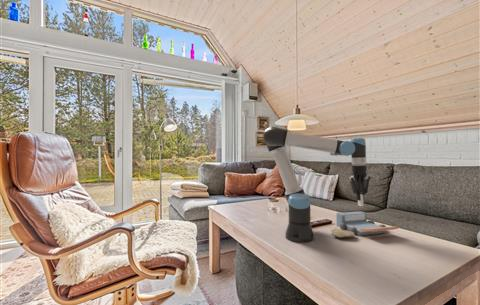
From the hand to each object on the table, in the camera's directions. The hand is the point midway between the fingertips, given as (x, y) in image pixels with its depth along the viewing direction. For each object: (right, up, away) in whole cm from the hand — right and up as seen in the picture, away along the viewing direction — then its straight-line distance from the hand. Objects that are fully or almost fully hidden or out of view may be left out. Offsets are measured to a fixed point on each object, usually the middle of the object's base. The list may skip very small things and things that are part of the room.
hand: (360, 205), depth 133 cm
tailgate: (+5, -12, -4) cm, 14 cm away
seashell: (-10, -16, -5) cm, 19 cm away
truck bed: (+2, -16, +5) cm, 16 cm away
